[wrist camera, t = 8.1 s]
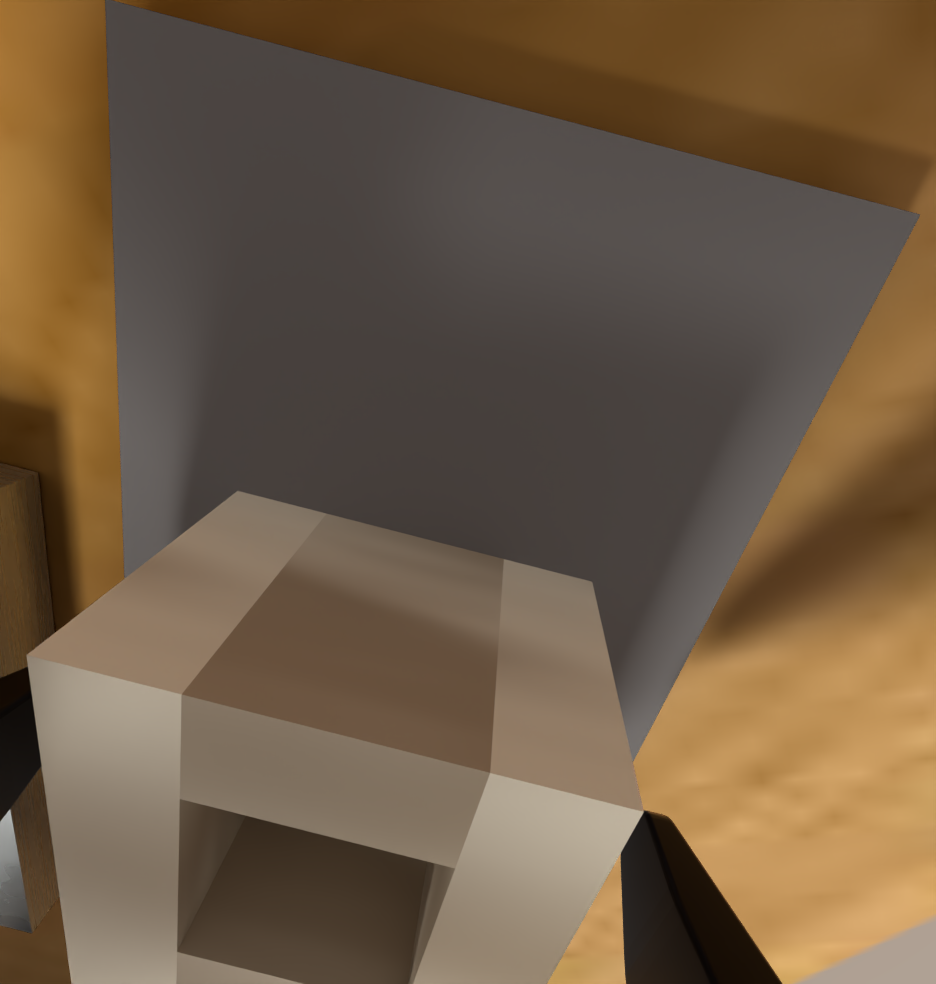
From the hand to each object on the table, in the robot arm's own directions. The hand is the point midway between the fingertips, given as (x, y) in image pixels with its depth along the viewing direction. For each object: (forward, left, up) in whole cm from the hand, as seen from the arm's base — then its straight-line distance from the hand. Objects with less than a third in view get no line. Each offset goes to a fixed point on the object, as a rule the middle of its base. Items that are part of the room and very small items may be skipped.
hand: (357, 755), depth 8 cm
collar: (0, 0, -2) cm, 2 cm away
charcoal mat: (0, 0, -2) cm, 2 cm away
